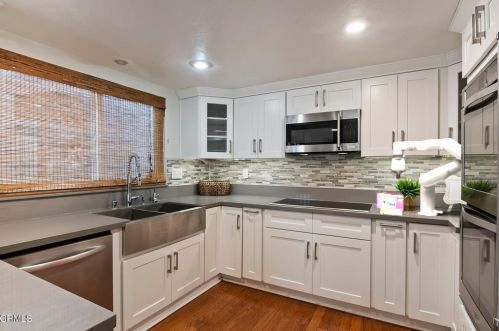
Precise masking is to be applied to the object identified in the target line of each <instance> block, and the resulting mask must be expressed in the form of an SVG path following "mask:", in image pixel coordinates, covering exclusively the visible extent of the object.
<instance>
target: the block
mask: <svg viewBox="0 0 499 331" xmlns="http://www.w3.org/2000/svg"><path fill="white" fill-rule="evenodd" d="M382 210H388V204H382Z"/></svg>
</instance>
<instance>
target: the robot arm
mask: <svg viewBox="0 0 499 331" xmlns="http://www.w3.org/2000/svg"><path fill="white" fill-rule="evenodd" d="M404 151H410V152H413V151H414V152H415V151H428V152H429V151H430V152H431V151H432V152H433V151H446V152H448V154H450V155H451V156H453V157H454V158H455V160H453V161H450V162H449V163H447V164H445V165H442V166H440V167H439V166H438V167H436V168H434V169H432V170H430V171H429V172H426V173H424V174H422V175H420V176H419V178H418V183H419V185H420V189H419V191H420V192H419V193H420V196H419V197H420V198H419V200H420V202H419V203H420V204H419V206H420V208H419V211H418V212H417V214H418V215H420V216H426V217H436V216H438V214H443V210H436V184H439V183H440V182H443V181H444V180H446V179H448V178H449V177H451V176H453V175H455V174H457V173H460V172H462V170H461V144H460V143H459V142H457V141H456V140H455V139H453V138H450V137H446V138H441V139H440V138H434V139H427V140H421V141H411V140H410V141H409V140H407V141H394V142H393V143H392V158H391V170H390V172H392V173H394V174H395V176H396V177H395V178H396V180H400V179H401V175H402V173H406V171H407V170H406V159H405V158H406V154H405V155H404ZM398 171H399V172H398Z"/></svg>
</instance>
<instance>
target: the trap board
mask: <svg viewBox="0 0 499 331" xmlns="http://www.w3.org/2000/svg"><path fill="white" fill-rule="evenodd" d="M379 210H380V214H383V213H384V214H385V215H397V216H403V212H402V209H397V208H388V210H382V208H380V209H379Z"/></svg>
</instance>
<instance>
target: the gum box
mask: <svg viewBox="0 0 499 331" xmlns="http://www.w3.org/2000/svg"><path fill="white" fill-rule="evenodd" d="M382 204H388V208H397V209H402V213H403V212H404V195H402V194H396V193H389V192H385V191H384V192H377V193H376V208H378V209H381V208H382Z"/></svg>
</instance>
